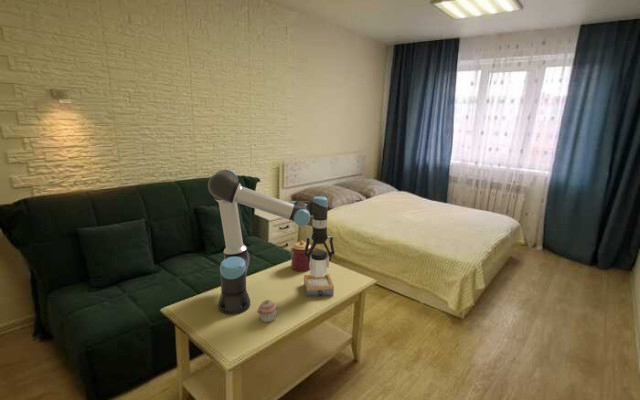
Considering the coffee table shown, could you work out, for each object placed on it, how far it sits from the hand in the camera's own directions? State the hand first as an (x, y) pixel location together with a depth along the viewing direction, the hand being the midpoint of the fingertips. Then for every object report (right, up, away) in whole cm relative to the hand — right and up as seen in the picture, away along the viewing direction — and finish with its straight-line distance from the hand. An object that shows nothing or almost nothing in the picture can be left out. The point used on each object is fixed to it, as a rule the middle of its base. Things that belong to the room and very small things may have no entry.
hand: (319, 267), depth 175 cm
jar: (0, -4, +1) cm, 4 cm away
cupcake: (-23, -19, -24) cm, 39 cm away
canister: (-11, -7, +30) cm, 33 cm away
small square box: (0, -13, +3) cm, 13 cm away
